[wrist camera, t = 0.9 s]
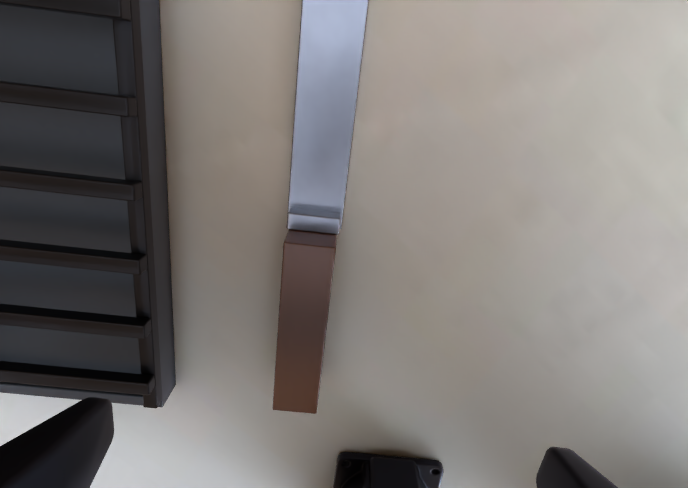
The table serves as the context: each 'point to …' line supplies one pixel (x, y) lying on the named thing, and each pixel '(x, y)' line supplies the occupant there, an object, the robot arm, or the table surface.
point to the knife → (316, 191)
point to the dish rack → (84, 202)
